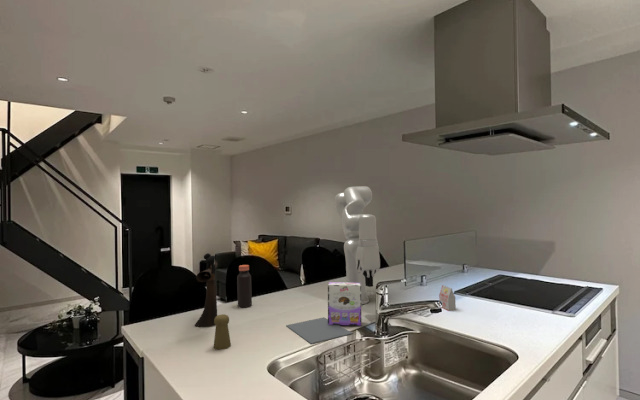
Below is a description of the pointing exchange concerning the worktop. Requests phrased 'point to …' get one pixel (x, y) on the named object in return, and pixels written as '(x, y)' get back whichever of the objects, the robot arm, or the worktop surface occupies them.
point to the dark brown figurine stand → (208, 293)
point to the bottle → (244, 287)
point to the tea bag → (447, 298)
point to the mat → (318, 330)
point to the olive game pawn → (221, 332)
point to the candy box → (344, 303)
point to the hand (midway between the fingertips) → (369, 286)
